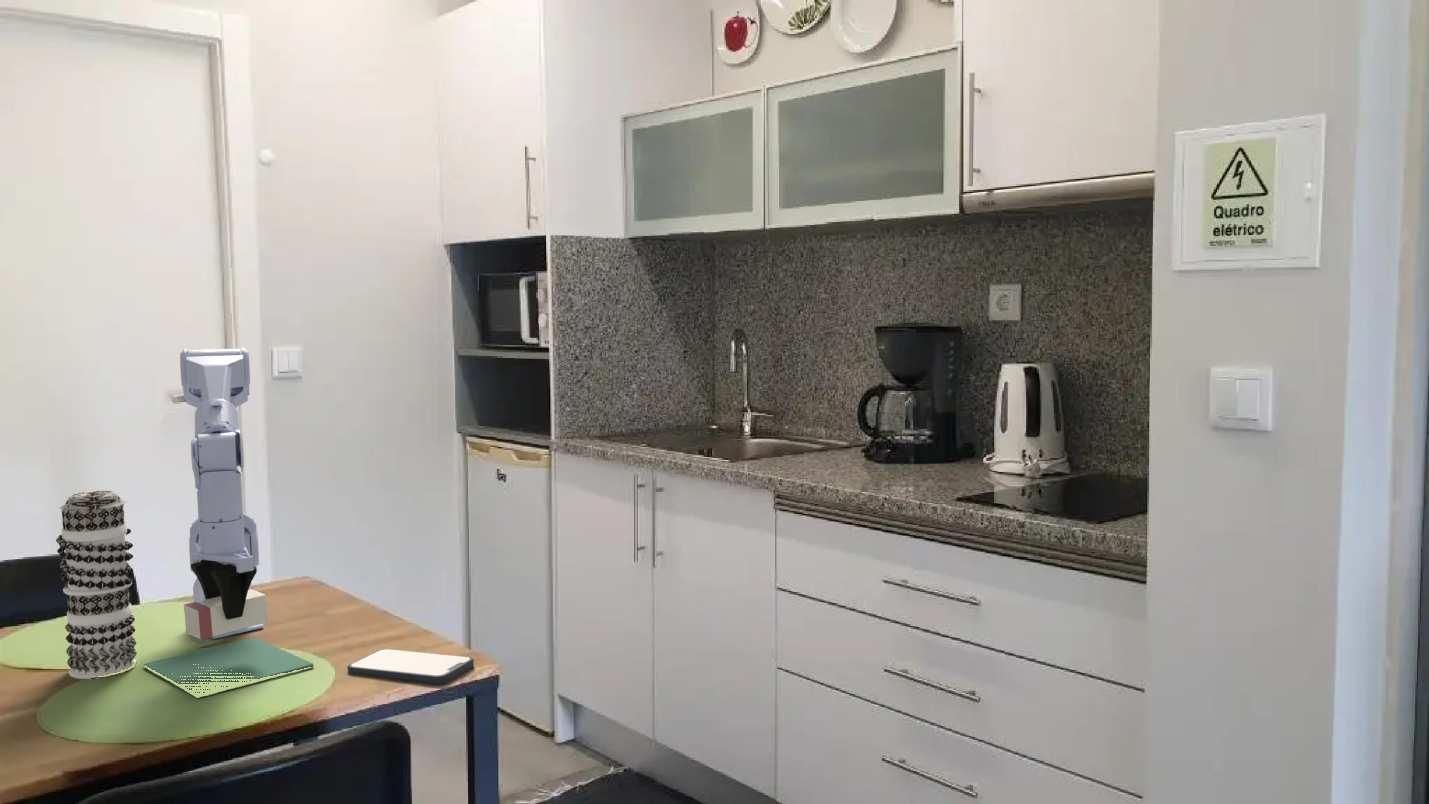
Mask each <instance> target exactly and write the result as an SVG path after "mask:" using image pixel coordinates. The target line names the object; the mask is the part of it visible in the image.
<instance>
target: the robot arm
mask: <svg viewBox="0 0 1429 804" xmlns="http://www.w3.org/2000/svg"><path fill="white" fill-rule="evenodd" d="M179 363H180V364H179V366H180V368H179V369H180V382H181V386H182V392H183V398H185V402H186V404H187V405H189V406H190V407H191V406H192V407H194V408H196V409H195V412H194V438H193V437H191V440H190V441H191V442H190V456H191V457H190V458H191V469H192V473H193V476H194V485H195V486H194V487H195V489H197V491H196V500H197V515H198V516H197V519H195V520H194V521H193V522H192V523H191V526H190V528H189V538H188V539H189V540H188V541H189V542H188V543H189V544H188V546H189V547H188V548H189V565H190V567H189V568H190V571H191V573H193V575H195V576H196V579H195V581H194V583H193V588H192V592H193V594H192V595H193V602H197V601H202V600H206V599H210V598H215V597H219V596H221V600H222V606H223V611H224V615H225V617H226V619H228V620H229V619H233V618H238V617H242V615H243V611H244V606H245V601H246V597H247V593H248V590H249V589H252V582H253V580H254V578H255V576H256V574H257V571H258V569H257V567H258V566H259V565H260V555H259V554H260V551H259V537H258V536H259V535H258V530H257V522H256V521H255V518H254V517H252V516H250V515H249V514H247V513H246V512H244V509H243V507H244V506H243V485H242V484H243V483H242V473H243V471H244V467H245V461H244V441H243V436H242V433H241V429H240V428H239V427H240V426H239V413H238V409H237V408H238V407H239V406H241V405H243V404H245V403H247V402H248V401H249V396H250V384H251V375H250V374H251V372H250V368H251V367H250V353H249V350H248V349H246V347H241V348H224V349H222V348H219V349H217V348H216V349H215V348H214V349H213V348H212V349H211V348H210V349H188V348H184V349H183V350H182V351H181V352H180V354H179ZM238 466H239V468H240V469H241V470H240V471H241V472H240V471H239V470H238V469H237V467H238ZM252 590H253V589H252ZM264 626H265V623H263V624H259V625H255V626H251V627H247V628H243V629H239V630H235V631H231V632H228V633H224V634H220V635H216V636H213V637H210V638H211V639H214V640H215V639H220V638H224V637H228V636H233V635H237V634H242V633H245V632H250V631H255V630H258V629H259V630H260V629H262V628H264Z"/></svg>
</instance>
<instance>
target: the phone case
mask: <svg viewBox="0 0 1429 804" xmlns="http://www.w3.org/2000/svg"><path fill="white" fill-rule="evenodd" d="M474 663H475V661H474V658H472V657H470V656H469V657H468V656H459V655H450V654H439V653H430V652H420V651H412V650H411V651H409V650H400V649H390V648H386V649H380V650H377V651H374V652H372V653H371V654H368V655H366V656H365V657H362V658H360V659H358V660H355V661H354V662H352V663H350V664H349V665H348V666H347V673H348V674H349V675H353V674H354V675H353V676H355V675H356V676H361V677H362V676H363V677H369V678H370V677H371V678H378V679H385V680H392V681H399V680H400V681H401V682H409V683H414V684H415V683H416V684H421V685H422V684H424V685H431V686H442V685H443V686H444V685H446V684H449V683H450V682H452V681H453V680H455V679H457V678H458V677H461V676H462V675H464V674H465V672H466V673H467V672H469V671H471V670H472V669H473V668H474V666H475V664H474ZM472 667H473V668H472ZM471 668H472V669H471ZM470 669H471V670H470ZM468 670H469V671H468Z"/></svg>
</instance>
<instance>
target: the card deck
mask: <svg viewBox="0 0 1429 804" xmlns="http://www.w3.org/2000/svg"><path fill="white" fill-rule="evenodd" d="M267 603H268V602H267V594H265V593H262V592H261V591H257V590H255V589H249V590H248V593H247V597H246V601H245V606H244V611H243V615H242V617H238V618H233V619H229V620H228V619H226V617H225V615H224V611H223V606H222V600H221V596H219V597H215V598H210V599H206V600H202V601H197V602H194V601H193V602H189V603H185V604H183V611H184V612H183V614H184V622H185V624H184V625H185V633H186V634H188V635H190V636H192V637H194V638H196V639H199V640H205V639H209V638H211V637H213V636H216V635H220V634H224V633H228V632H231V631H235V630H239V629H243V628H247V627H251V626H255V625H259V624H265V623H269V618H268V607H267V605H268V604H267Z"/></svg>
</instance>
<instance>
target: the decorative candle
mask: <svg viewBox="0 0 1429 804" xmlns="http://www.w3.org/2000/svg"><path fill="white" fill-rule="evenodd" d="M126 504H127V500H124V499H122V498H121V497H120V496H119V495H118V494H117V493H116V492H114V491H113V490H90V491H82V492H78V493H73V494H72V495H70V496H69V497H68V499H67V500H66V502H65V504H63V505H60V507H59V509H60V510H61V517H62V519H61V522H62V528H61V534H59V535H58V537H57V538H56V539H55V542H56V543H57V544H58V545H59V548H57V550H56V552H57V554H58V556H59V557H61V558H63V559H61V562H60V563H59V565H58V567H59V569H61V571H62V573H61V574H60V576H59V577H60V578H61V581H62V582H63V583H65V584H64V587H63V588H62V591H63V594H65V595H66V596H67V609H68V611H67V612H66V617H67V624H66V625H65V626H64V629H65V630H66V632H67V633H68V635H66V637H65V639H66V641H67V643H68V644H69V646H68V647H67V648H66V651H65V652H66V654H67V656H68V659H67V660H66V663H67V665H68V666H69V667H70V668H69V670H68V675H69V676H70V678H73V679H77V680H92V679H91V678H94V677H98V676H104V675H108V674H111V673H117V672H120V671H121V670H125V669H128V668H129V667H131V666H132V665H134V664H135V663H136V661H137V660H136V659H135V658H136V656H137V654H138V652H137V651H136V648H135V646H136V645H137V641H136V639H135V637H134V636H132V635H134V633H135V632H136V628H135V626H134V625H132V624H133V623H134V622H135V619H136V618H135V617H134V615H133V612H132V603H131V602H130V591H129V588H130V587H131V586H132V584H133V581H134V580H133V579H132V578H130V577H129V575H130V574H132V573H133V571H134V568H133V567H129V566H128V565H127V562H129V561H130V560H132V559H134V554H132V553H130V552H128V551H129V550H131V549H132V548H133V547H134V545H133V543H132V542H129V541H128V540H126V536H128V535H130V534H131V533H132V530H131V528H127V527H128V526H127V522H126V521H125V510H124V506H125V505H126Z"/></svg>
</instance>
